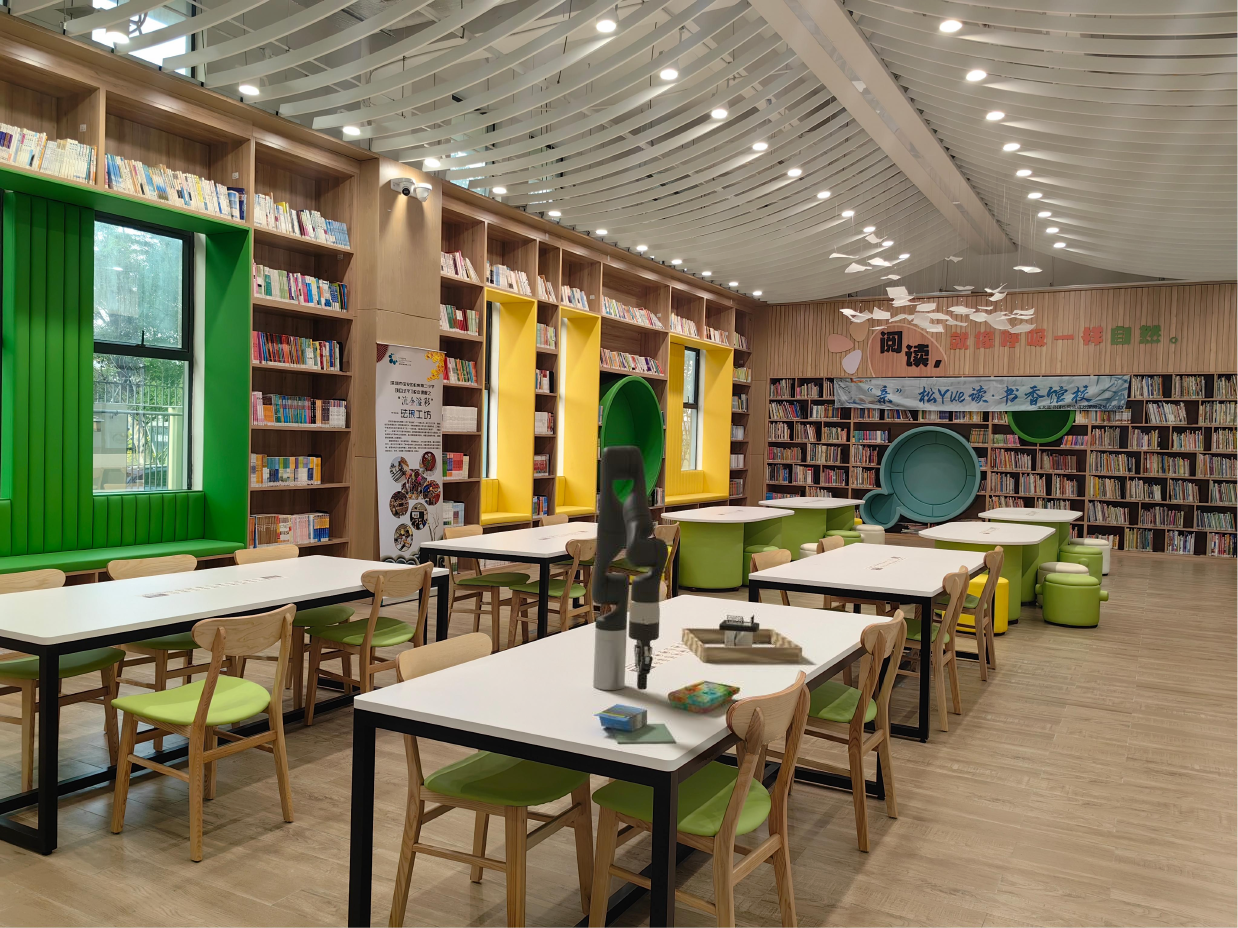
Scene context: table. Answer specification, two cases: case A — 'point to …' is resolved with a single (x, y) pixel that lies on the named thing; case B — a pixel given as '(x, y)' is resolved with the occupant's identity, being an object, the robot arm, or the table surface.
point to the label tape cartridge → (623, 717)
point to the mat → (644, 735)
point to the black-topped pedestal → (738, 631)
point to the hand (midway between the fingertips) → (641, 688)
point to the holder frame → (780, 653)
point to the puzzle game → (702, 696)
